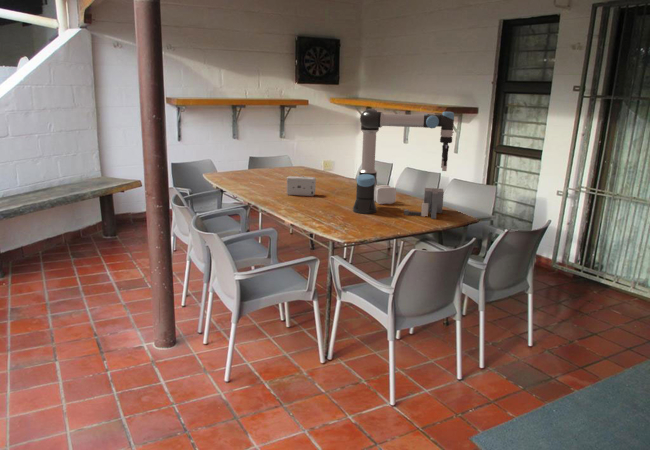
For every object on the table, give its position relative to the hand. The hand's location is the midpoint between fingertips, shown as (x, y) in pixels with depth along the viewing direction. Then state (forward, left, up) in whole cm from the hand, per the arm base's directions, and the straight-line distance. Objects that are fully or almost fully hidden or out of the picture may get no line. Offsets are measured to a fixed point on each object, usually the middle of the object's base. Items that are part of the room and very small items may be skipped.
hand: (443, 169), depth 341 cm
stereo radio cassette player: (-100, +27, -28) cm, 107 cm away
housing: (-5, -8, -28) cm, 29 cm away
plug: (-16, -15, -28) cm, 36 cm away
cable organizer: (-39, +17, -28) cm, 51 cm away
